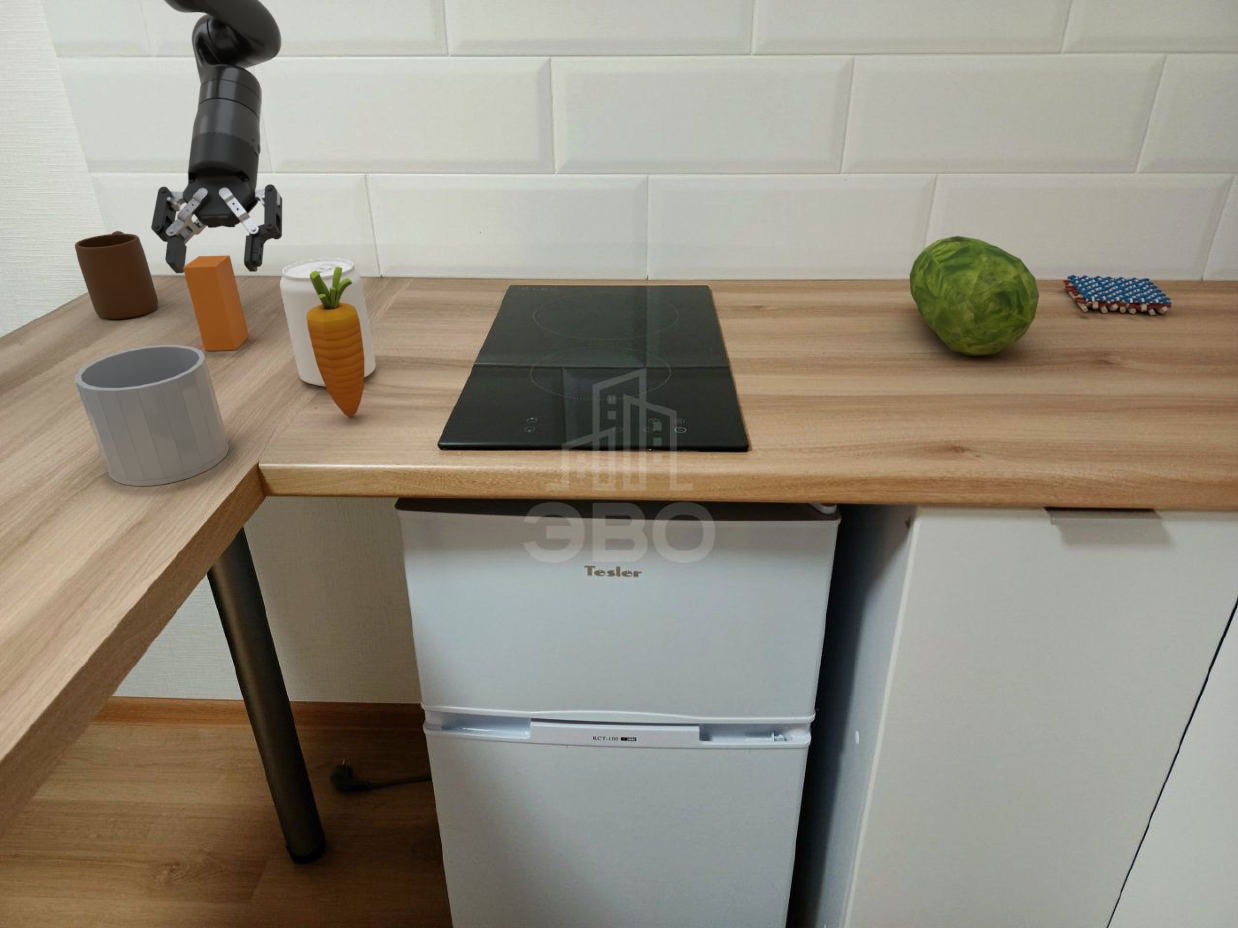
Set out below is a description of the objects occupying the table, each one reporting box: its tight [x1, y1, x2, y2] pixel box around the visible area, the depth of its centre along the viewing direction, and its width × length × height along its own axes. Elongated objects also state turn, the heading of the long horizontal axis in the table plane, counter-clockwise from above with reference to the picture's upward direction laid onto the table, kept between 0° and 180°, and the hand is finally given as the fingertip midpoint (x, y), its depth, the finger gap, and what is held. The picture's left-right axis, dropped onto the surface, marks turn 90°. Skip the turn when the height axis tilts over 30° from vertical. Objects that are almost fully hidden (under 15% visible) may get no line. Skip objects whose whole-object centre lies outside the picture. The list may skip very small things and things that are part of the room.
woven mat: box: [1062, 274, 1172, 316], centre depth 111 cm, size 10×11×2 cm
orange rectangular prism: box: [183, 255, 250, 352], centre depth 101 cm, size 4×5×10 cm
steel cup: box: [74, 344, 230, 487], centre depth 76 cm, size 10×10×9 cm
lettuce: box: [909, 235, 1040, 357], centre depth 99 cm, size 12×21×11 cm, turn 2°
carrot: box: [307, 267, 365, 418], centre depth 81 cm, size 5×5×15 cm
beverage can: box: [279, 257, 377, 388], centre depth 91 cm, size 8×8×12 cm
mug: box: [74, 230, 159, 320], centre depth 113 cm, size 12×8×9 cm, turn 17°
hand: (213, 269), depth 100 cm, fingers open, 8 cm apart
